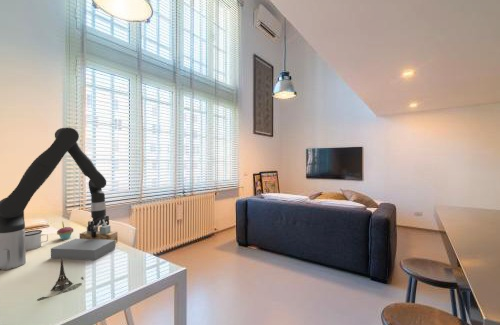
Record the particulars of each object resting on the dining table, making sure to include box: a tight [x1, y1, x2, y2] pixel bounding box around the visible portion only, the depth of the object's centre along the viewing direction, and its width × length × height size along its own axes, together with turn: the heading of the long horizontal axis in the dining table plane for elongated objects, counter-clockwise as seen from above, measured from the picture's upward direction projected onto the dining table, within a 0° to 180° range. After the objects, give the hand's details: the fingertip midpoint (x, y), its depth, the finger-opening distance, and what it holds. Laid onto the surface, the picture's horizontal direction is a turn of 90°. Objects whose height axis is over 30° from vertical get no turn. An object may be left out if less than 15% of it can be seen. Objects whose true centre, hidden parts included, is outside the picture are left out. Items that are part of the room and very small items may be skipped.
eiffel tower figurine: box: [36, 258, 85, 302], centre depth 91 cm, size 15×10×13 cm
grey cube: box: [86, 225, 99, 234], centre depth 142 cm, size 4×4×4 cm
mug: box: [25, 229, 49, 251], centre depth 135 cm, size 12×10×9 cm
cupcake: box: [56, 220, 74, 240], centre depth 150 cm, size 9×8×12 cm
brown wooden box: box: [79, 230, 118, 243], centre depth 141 cm, size 21×6×6 cm, turn 83°
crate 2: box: [99, 225, 111, 234], centre depth 141 cm, size 4×4×4 cm
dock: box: [50, 238, 117, 261], centre depth 126 cm, size 16×25×5 cm, turn 84°
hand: (99, 235), depth 141 cm, fingers open, 8 cm apart
